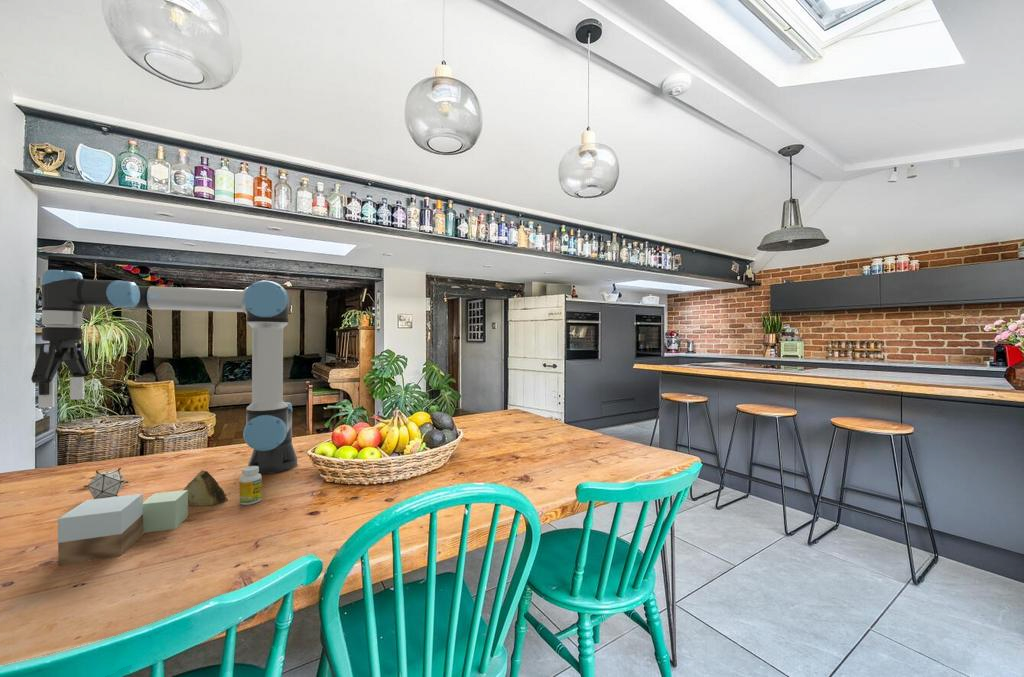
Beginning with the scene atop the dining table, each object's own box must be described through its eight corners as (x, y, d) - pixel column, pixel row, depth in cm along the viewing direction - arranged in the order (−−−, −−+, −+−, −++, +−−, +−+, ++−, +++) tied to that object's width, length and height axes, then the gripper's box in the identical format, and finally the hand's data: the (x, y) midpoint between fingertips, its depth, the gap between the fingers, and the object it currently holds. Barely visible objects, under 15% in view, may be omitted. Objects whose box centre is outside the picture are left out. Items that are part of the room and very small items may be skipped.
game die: (97, 512, 115) (75, 484, 115) (133, 491, 122) (112, 465, 122) (100, 504, 110) (77, 475, 109) (137, 484, 117) (116, 456, 116)
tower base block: (143, 535, 95) (143, 514, 95) (121, 557, 86) (121, 534, 86) (87, 543, 92) (87, 521, 92) (58, 567, 82) (58, 543, 82)
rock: (164, 499, 110) (183, 501, 105) (185, 468, 115) (204, 469, 110) (202, 511, 117) (221, 513, 113) (219, 482, 122) (239, 483, 118)
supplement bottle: (246, 497, 117) (247, 464, 117) (265, 497, 117) (265, 464, 117) (234, 505, 112) (234, 471, 111) (254, 505, 112) (254, 471, 112)
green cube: (187, 516, 105) (187, 490, 105) (175, 529, 98) (175, 500, 98) (154, 520, 102) (154, 493, 102) (139, 533, 96) (139, 504, 96)
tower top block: (142, 514, 95) (142, 493, 95) (121, 533, 86) (121, 510, 86) (86, 521, 92) (86, 499, 91) (57, 542, 82) (57, 518, 82)
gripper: (71, 326, 121) (71, 397, 121) (9, 325, 98) (10, 412, 99) (104, 327, 124) (104, 395, 124) (52, 326, 101) (52, 410, 102)
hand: (62, 403), depth 111 cm, fingers open, 13 cm apart
